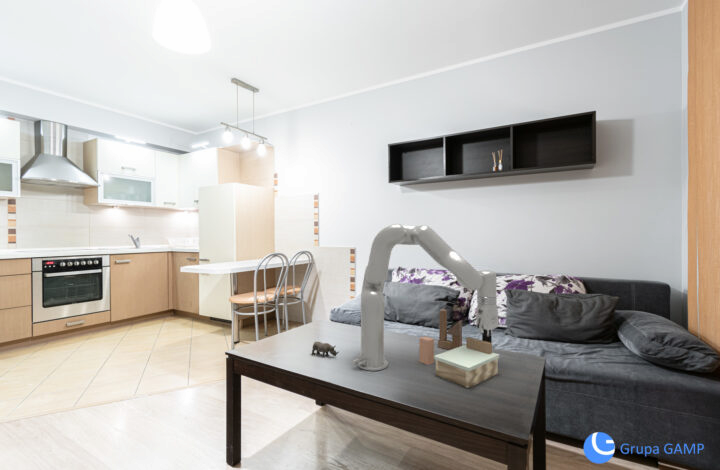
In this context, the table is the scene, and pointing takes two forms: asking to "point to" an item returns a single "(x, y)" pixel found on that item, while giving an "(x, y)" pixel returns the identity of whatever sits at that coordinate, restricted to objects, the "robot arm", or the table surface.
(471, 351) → the lid
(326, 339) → the table surface
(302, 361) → the table surface
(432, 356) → the salmon rectangular block
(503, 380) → the table surface
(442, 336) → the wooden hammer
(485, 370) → the tan wooden low box
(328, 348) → the rhino figurine
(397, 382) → the table surface
